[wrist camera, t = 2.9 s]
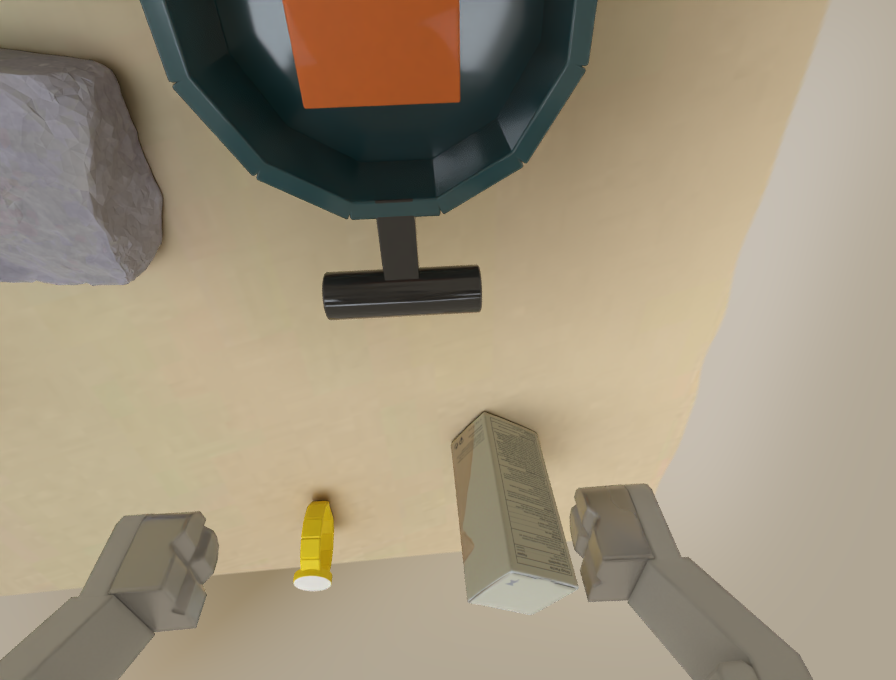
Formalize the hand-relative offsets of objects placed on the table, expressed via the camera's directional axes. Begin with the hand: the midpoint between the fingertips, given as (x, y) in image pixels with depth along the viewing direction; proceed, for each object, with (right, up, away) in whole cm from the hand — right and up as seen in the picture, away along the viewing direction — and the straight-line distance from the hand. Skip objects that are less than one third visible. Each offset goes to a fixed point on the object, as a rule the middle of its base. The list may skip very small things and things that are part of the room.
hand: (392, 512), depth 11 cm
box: (+5, -3, +25) cm, 25 cm away
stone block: (-18, +12, +11) cm, 24 cm away
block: (-1, +14, +4) cm, 14 cm away
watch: (-9, -10, +30) cm, 33 cm away
